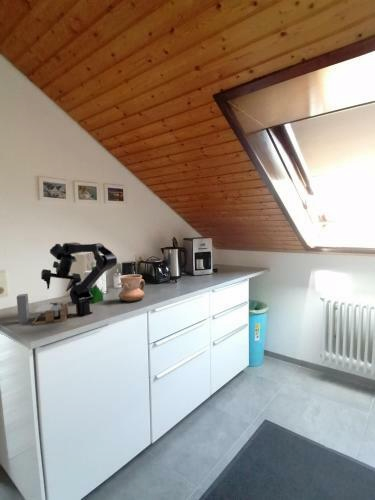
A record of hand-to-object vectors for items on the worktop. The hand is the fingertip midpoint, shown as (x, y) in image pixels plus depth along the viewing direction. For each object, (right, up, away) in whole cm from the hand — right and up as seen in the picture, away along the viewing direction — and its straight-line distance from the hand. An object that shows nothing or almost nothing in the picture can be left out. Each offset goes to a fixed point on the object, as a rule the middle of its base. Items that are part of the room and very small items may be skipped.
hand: (57, 290), depth 150 cm
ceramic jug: (+37, -8, +17) cm, 41 cm away
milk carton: (+14, -9, +17) cm, 24 cm away
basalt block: (-8, -12, -16) cm, 22 cm away
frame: (+3, -12, -13) cm, 18 cm away
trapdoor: (+2, -9, -13) cm, 16 cm away
